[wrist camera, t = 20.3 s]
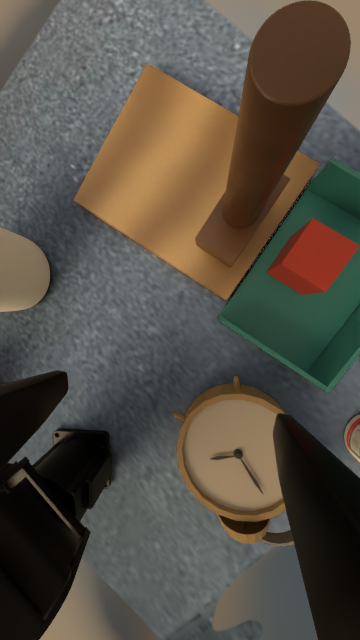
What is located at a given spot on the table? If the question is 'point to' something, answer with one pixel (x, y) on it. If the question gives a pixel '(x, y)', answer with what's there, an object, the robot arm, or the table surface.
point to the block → (312, 258)
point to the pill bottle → (353, 437)
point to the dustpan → (310, 309)
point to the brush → (275, 117)
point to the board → (177, 178)
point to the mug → (21, 272)
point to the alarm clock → (234, 460)
